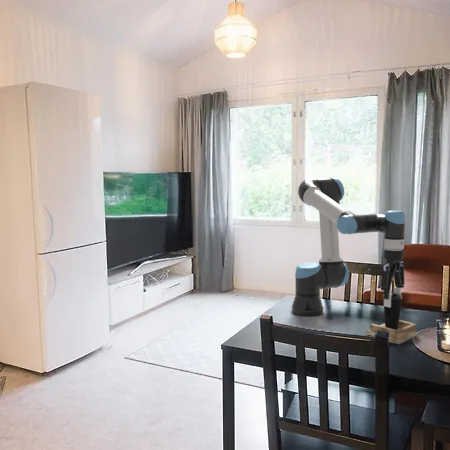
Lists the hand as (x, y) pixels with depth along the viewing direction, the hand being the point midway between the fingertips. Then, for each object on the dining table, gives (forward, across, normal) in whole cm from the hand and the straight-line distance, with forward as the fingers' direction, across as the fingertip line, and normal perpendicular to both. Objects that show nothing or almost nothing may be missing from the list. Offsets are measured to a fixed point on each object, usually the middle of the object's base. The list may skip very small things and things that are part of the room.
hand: (392, 304), depth 184 cm
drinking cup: (+10, 0, 0) cm, 10 cm away
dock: (+13, 0, 0) cm, 13 cm away
